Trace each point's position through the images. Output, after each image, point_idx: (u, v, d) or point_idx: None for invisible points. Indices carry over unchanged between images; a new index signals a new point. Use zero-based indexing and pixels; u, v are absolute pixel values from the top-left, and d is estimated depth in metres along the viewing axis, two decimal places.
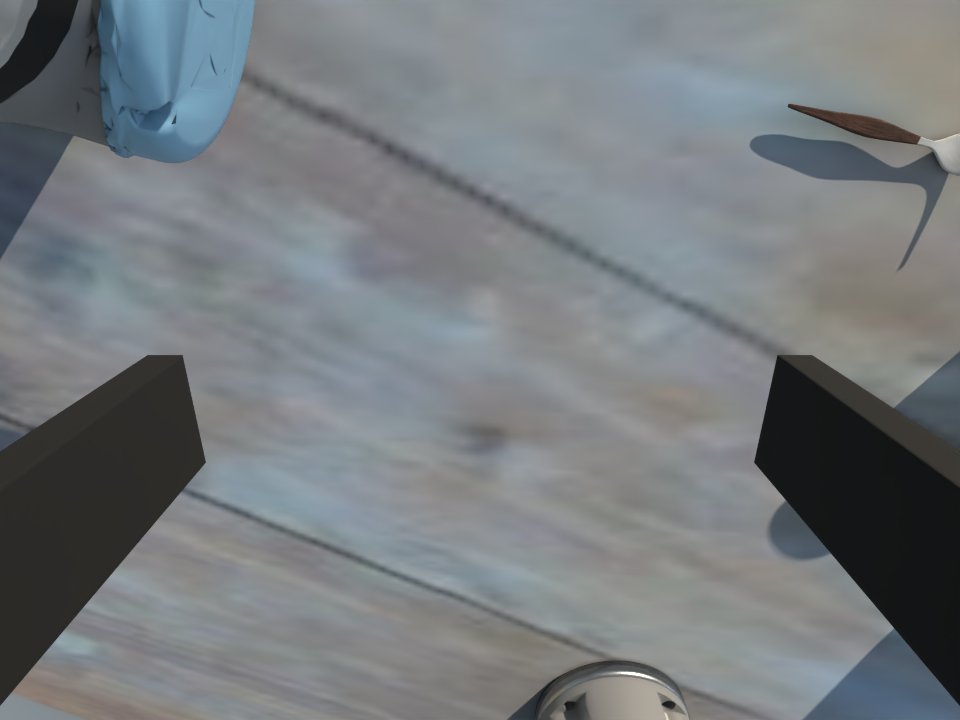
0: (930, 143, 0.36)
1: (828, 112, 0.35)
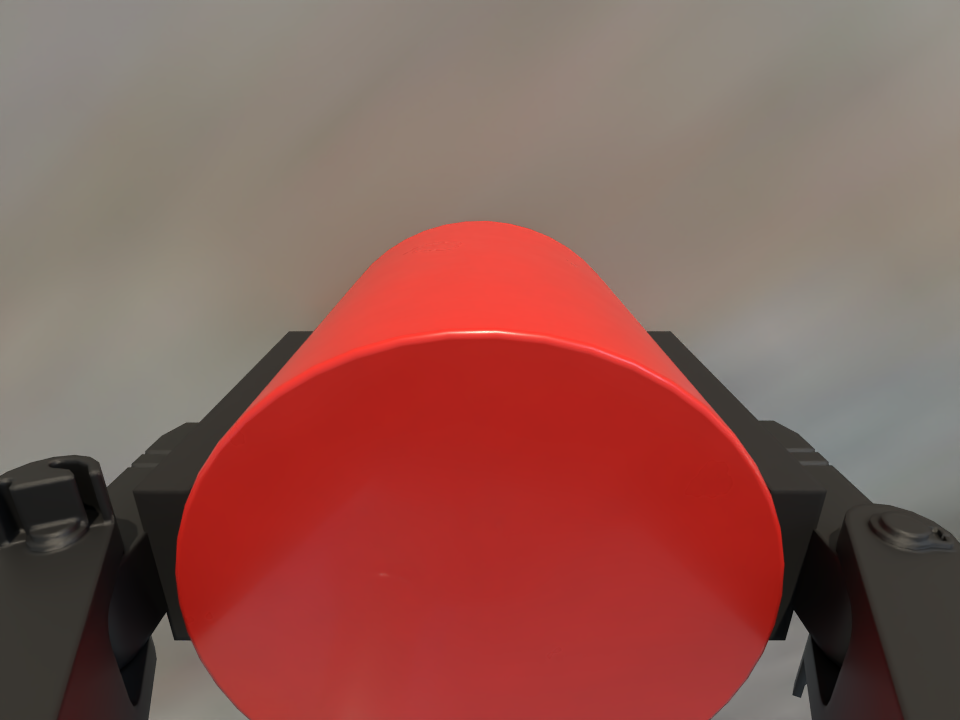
0: None
1: None
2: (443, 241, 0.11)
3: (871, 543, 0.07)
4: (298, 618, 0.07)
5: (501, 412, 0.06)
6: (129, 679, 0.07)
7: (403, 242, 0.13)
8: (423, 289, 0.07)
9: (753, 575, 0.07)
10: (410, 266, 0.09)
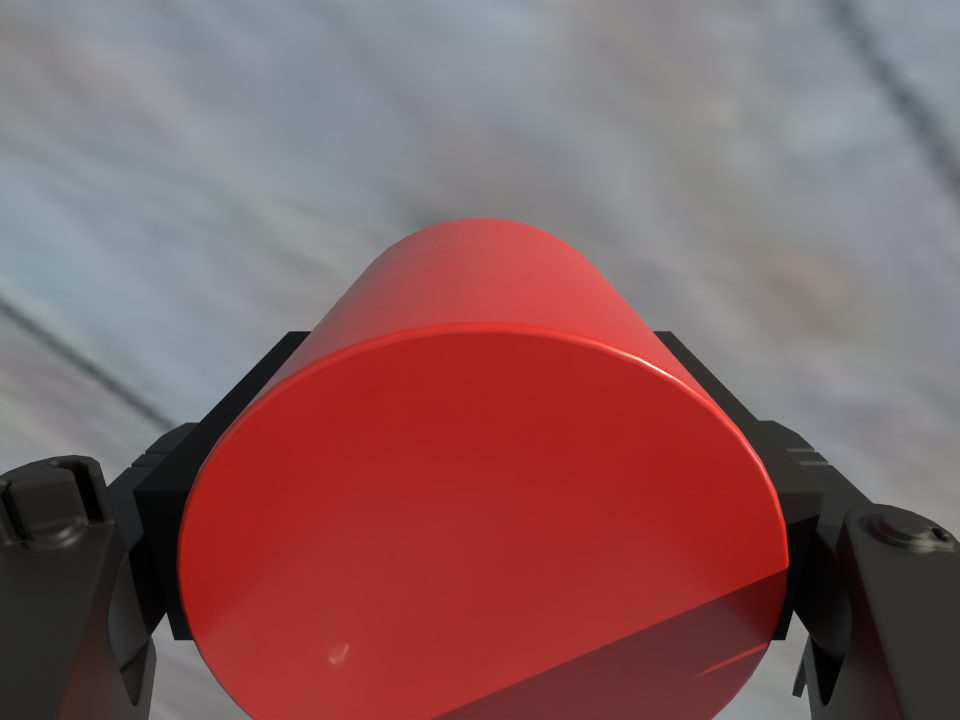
0: None
1: None
2: (445, 238, 0.11)
3: (871, 543, 0.07)
4: (299, 614, 0.07)
5: (504, 406, 0.06)
6: (129, 679, 0.07)
7: (404, 239, 0.13)
8: (426, 284, 0.07)
9: (758, 571, 0.07)
10: (412, 262, 0.09)
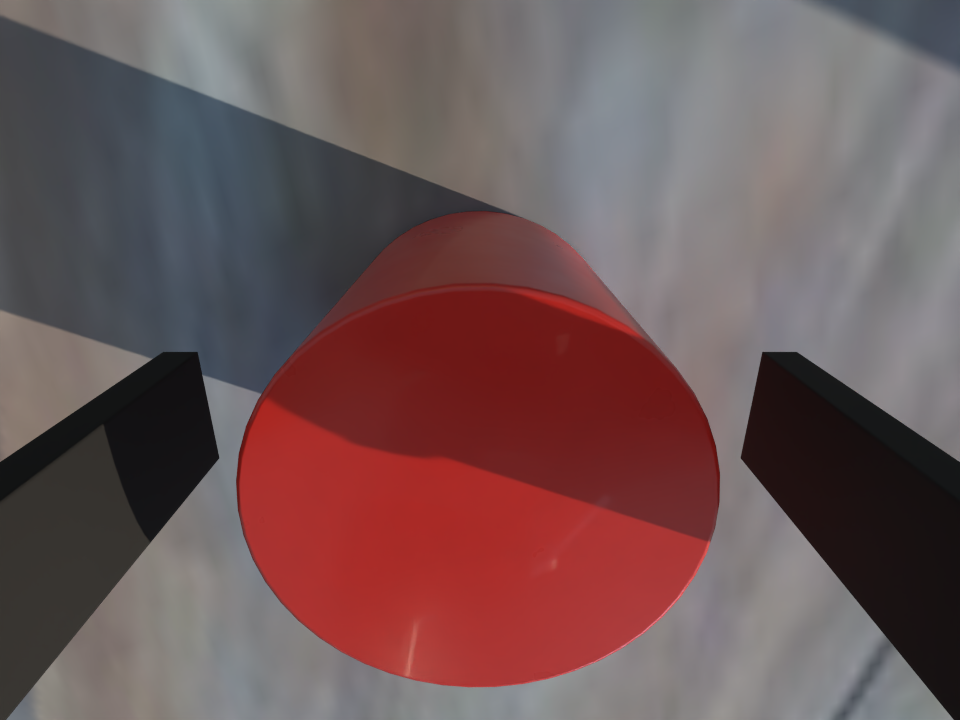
0: None
1: None
2: (447, 227, 0.13)
3: None
4: (333, 522, 0.09)
5: (494, 349, 0.08)
6: None
7: (411, 229, 0.15)
8: (432, 260, 0.09)
9: (695, 485, 0.09)
10: (420, 245, 0.11)
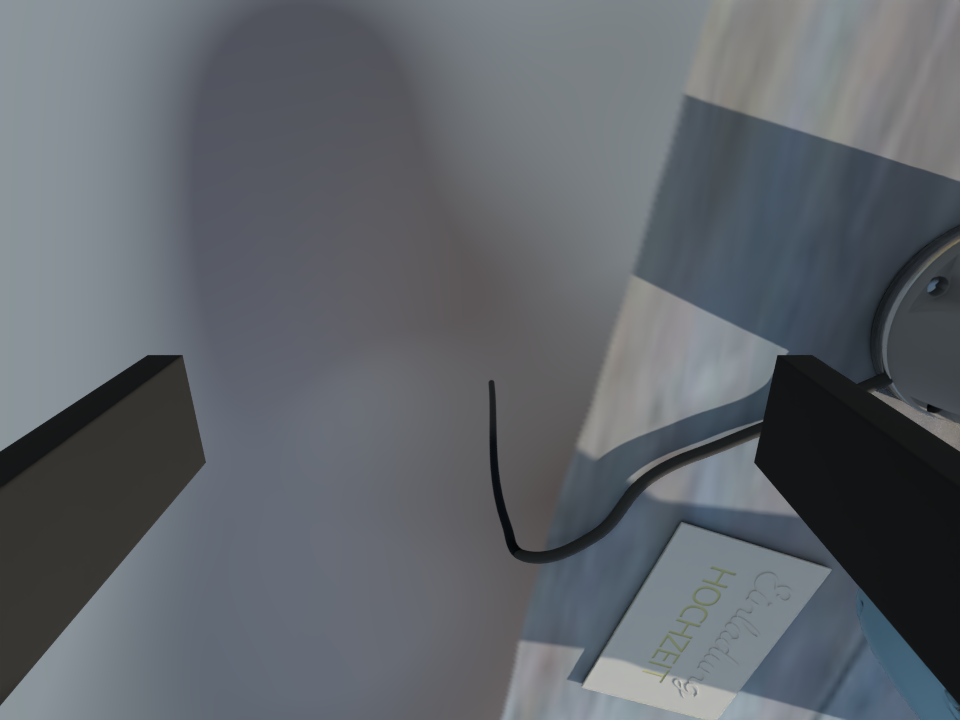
0: None
1: None
2: None
3: None
4: None
5: None
6: None
7: None
8: None
9: None
10: None
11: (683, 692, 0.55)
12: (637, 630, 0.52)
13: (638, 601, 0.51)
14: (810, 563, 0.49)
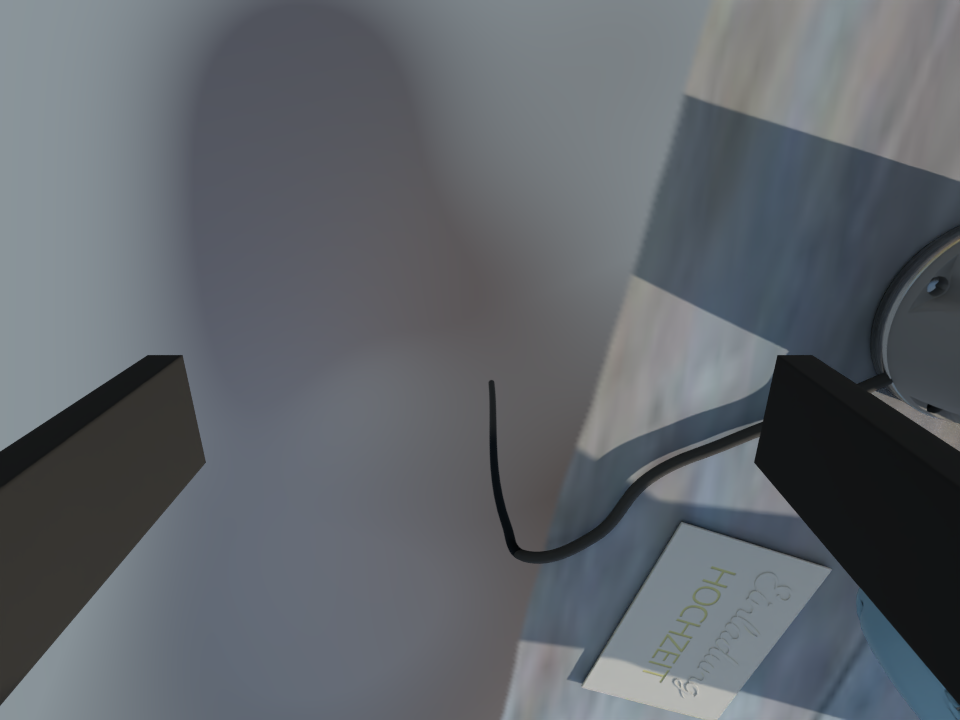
0: None
1: None
2: None
3: None
4: None
5: None
6: None
7: None
8: None
9: None
10: None
11: (683, 692, 0.55)
12: (637, 630, 0.52)
13: (638, 601, 0.51)
14: (810, 563, 0.49)
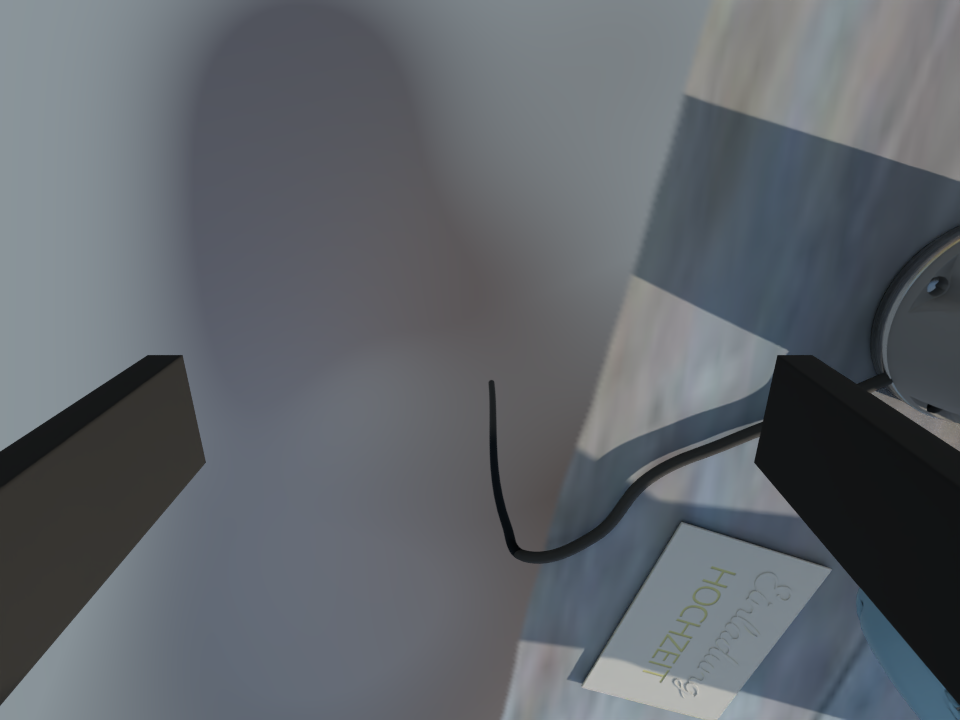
0: None
1: None
2: None
3: None
4: None
5: None
6: None
7: None
8: None
9: None
10: None
11: (683, 692, 0.55)
12: (637, 630, 0.52)
13: (638, 601, 0.51)
14: (810, 563, 0.49)
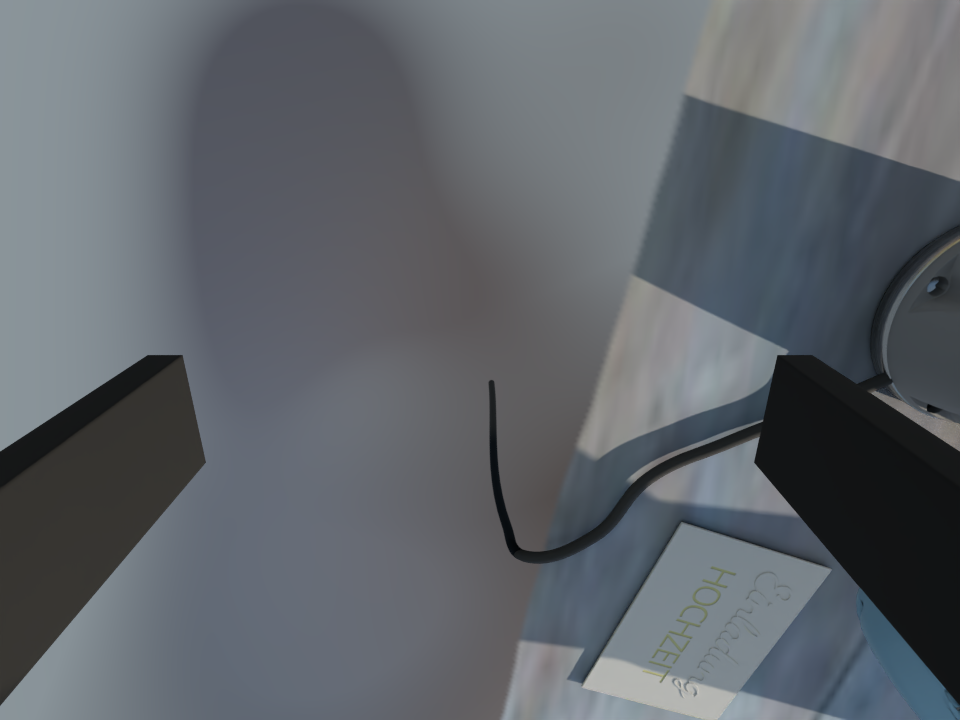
0: None
1: None
2: None
3: None
4: None
5: None
6: None
7: None
8: None
9: None
10: None
11: (683, 692, 0.55)
12: (637, 630, 0.52)
13: (638, 601, 0.51)
14: (810, 563, 0.49)
